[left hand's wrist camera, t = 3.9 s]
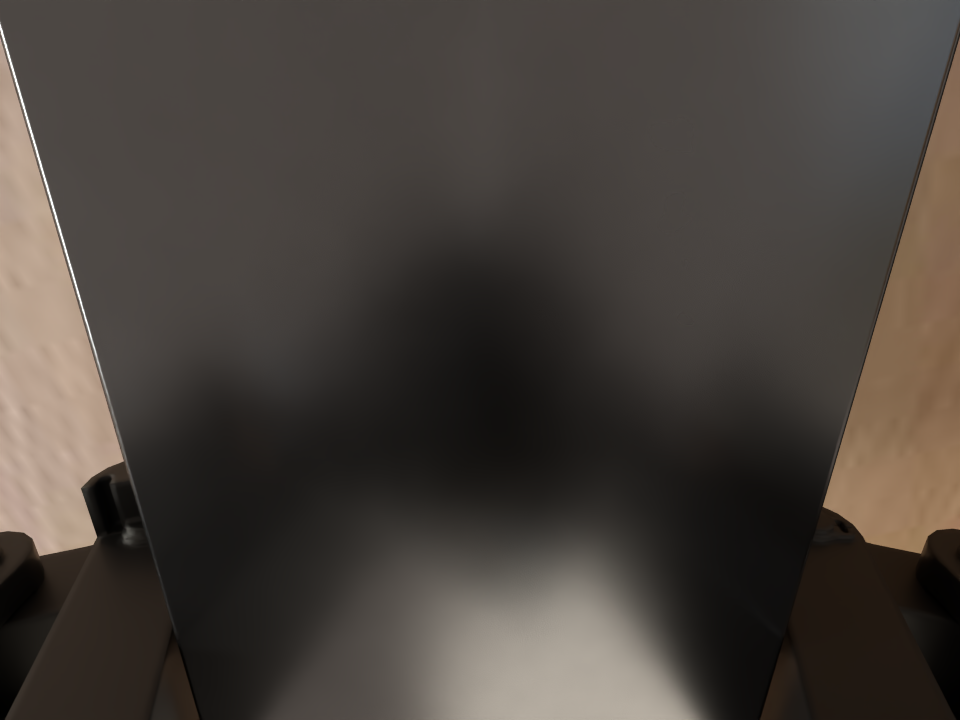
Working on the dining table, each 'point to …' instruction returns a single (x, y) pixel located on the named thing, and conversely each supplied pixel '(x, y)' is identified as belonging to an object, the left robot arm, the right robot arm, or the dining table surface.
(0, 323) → the dining table surface
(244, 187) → the box
